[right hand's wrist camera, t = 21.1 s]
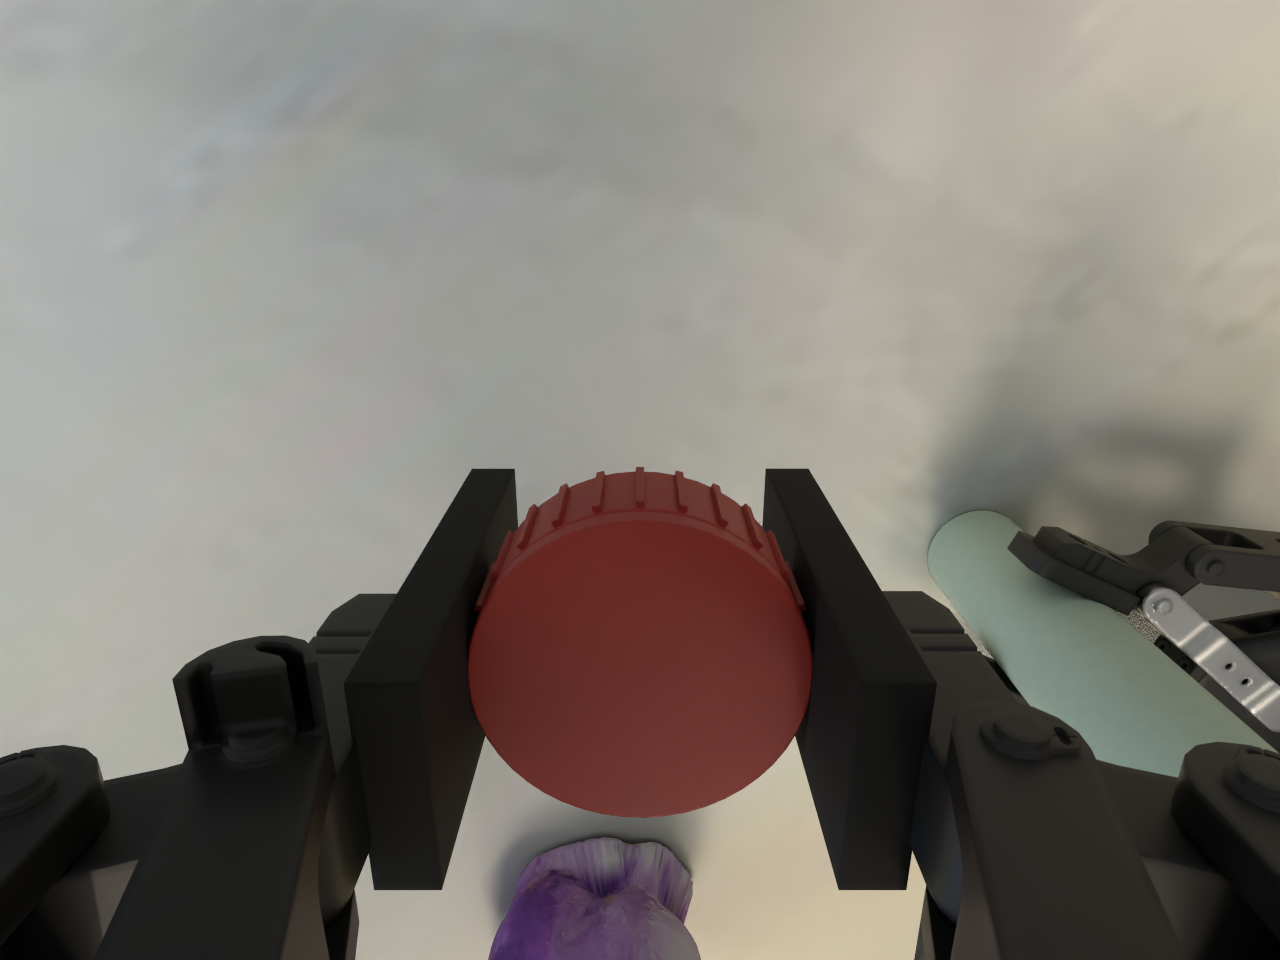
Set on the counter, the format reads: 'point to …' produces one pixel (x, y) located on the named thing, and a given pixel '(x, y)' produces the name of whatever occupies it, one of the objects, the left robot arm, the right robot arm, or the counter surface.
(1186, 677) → the bottle
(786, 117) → the counter surface
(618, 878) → the figurine
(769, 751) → the lid
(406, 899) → the counter surface
